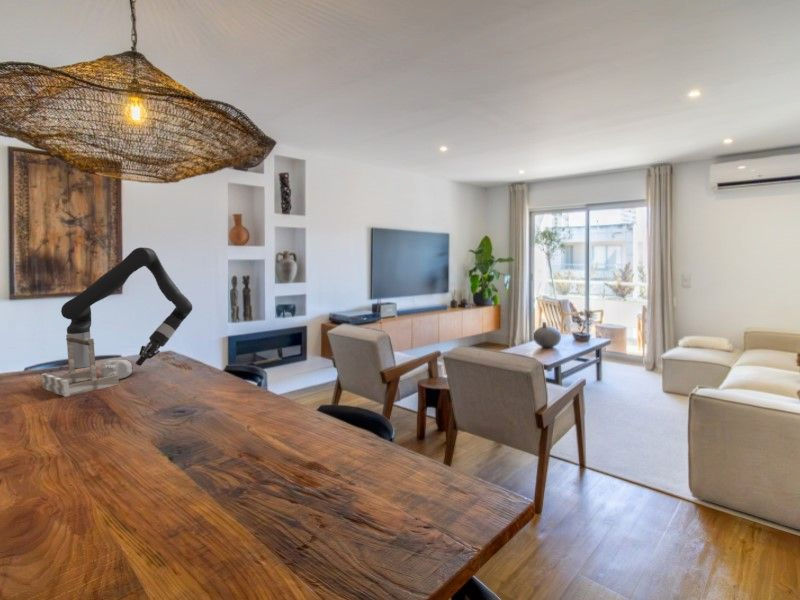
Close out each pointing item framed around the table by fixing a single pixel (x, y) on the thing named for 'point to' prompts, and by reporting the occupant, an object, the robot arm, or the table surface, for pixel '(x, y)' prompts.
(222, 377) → the table surface
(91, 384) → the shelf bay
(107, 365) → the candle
